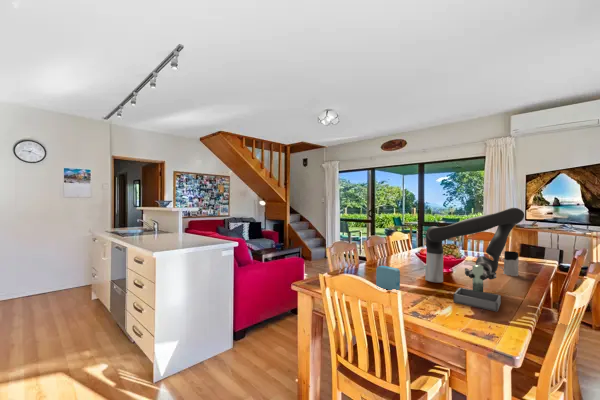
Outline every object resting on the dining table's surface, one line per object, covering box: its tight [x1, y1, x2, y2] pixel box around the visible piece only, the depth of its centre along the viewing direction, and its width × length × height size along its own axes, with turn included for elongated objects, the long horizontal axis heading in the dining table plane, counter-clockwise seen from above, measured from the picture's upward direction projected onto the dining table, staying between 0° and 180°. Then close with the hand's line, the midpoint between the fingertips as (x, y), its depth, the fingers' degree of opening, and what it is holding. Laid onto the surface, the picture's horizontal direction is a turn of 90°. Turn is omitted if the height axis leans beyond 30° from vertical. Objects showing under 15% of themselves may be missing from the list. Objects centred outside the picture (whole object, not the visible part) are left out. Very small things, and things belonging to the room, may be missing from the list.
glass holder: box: [499, 250, 520, 277], centre depth 191 cm, size 9×14×15 cm, turn 57°
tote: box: [453, 287, 502, 313], centre depth 136 cm, size 18×14×4 cm
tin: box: [472, 264, 484, 292], centre depth 136 cm, size 4×4×12 cm
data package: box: [375, 265, 401, 291], centre depth 156 cm, size 12×4×12 cm, turn 45°
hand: (477, 277), depth 134 cm, fingers closed on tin, 4 cm apart
